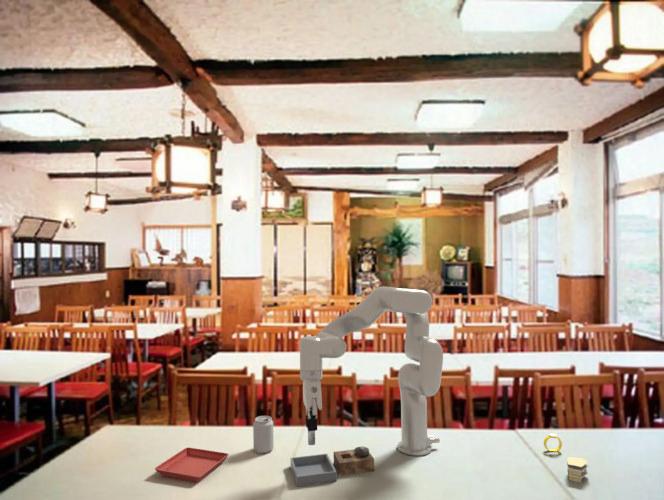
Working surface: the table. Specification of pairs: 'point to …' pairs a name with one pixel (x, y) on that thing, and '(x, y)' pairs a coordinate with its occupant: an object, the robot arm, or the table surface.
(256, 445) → the can
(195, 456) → the plant saucer
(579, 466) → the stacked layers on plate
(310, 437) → the lock pin
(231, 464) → the table surface
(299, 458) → the tray
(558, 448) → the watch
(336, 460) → the block
